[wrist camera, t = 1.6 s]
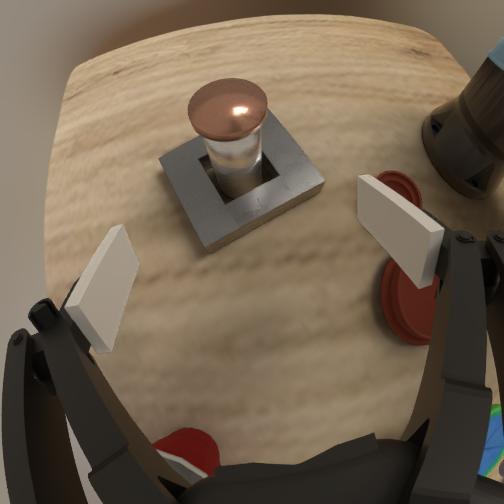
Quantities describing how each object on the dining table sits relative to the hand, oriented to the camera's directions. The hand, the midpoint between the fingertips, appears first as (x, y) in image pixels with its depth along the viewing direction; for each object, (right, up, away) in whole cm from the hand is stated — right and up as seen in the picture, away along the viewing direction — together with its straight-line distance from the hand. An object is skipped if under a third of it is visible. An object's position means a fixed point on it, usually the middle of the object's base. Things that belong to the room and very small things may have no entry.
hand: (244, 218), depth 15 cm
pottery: (+18, -3, +14) cm, 24 cm away
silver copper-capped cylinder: (-1, +7, +17) cm, 18 cm away
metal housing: (-1, +7, +17) cm, 18 cm away
